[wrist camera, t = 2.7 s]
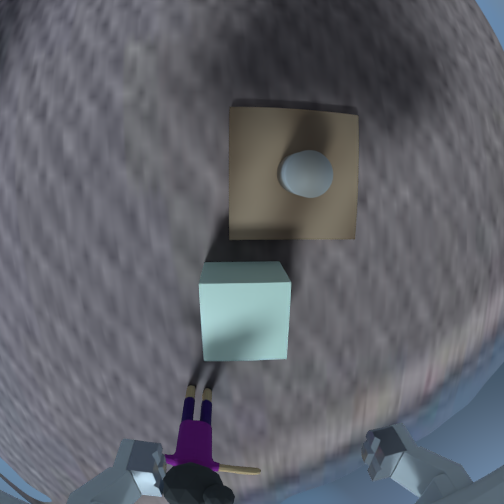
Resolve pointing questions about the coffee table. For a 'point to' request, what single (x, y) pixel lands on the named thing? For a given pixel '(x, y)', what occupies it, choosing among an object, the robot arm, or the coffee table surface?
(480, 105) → the coffee table surface
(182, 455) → the toy
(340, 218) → the stand
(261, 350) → the pale aqua cube
